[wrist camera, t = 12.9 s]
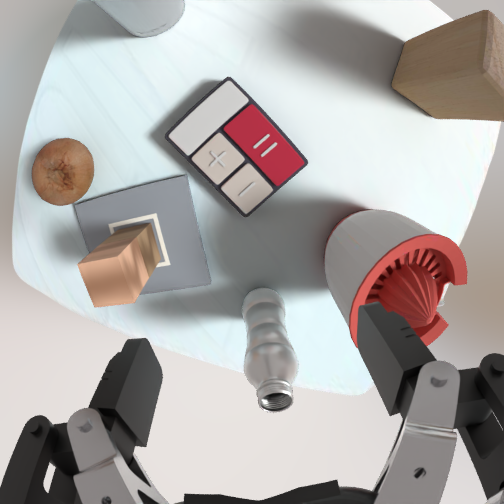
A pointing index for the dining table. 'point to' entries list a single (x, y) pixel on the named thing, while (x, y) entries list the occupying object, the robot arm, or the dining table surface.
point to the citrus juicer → (392, 269)
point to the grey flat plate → (164, 227)
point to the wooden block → (456, 69)
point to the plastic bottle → (269, 350)
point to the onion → (63, 171)
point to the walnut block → (140, 243)
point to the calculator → (236, 146)
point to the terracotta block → (114, 273)
